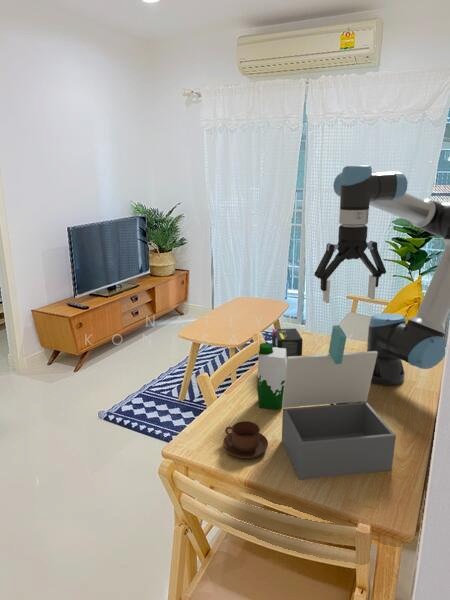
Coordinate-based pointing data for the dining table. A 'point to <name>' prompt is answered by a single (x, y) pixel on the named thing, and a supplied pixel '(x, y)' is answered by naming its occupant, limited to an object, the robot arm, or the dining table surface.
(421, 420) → the dining table surface
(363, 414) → the carton
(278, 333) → the tampon box
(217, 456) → the dining table surface
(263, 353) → the milk carton
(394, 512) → the dining table surface
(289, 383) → the carton lid
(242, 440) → the cup and saucer
